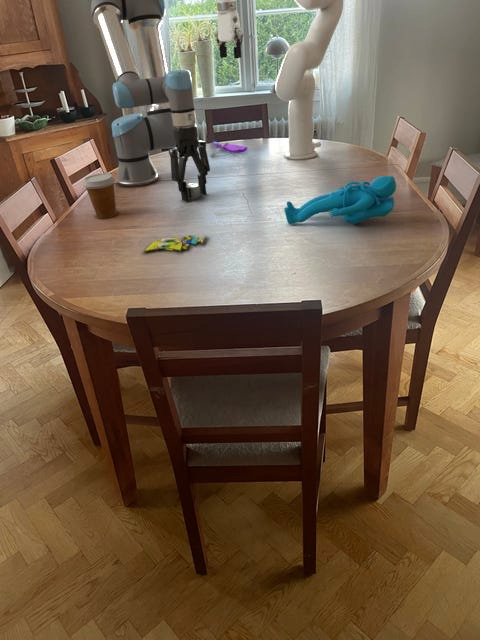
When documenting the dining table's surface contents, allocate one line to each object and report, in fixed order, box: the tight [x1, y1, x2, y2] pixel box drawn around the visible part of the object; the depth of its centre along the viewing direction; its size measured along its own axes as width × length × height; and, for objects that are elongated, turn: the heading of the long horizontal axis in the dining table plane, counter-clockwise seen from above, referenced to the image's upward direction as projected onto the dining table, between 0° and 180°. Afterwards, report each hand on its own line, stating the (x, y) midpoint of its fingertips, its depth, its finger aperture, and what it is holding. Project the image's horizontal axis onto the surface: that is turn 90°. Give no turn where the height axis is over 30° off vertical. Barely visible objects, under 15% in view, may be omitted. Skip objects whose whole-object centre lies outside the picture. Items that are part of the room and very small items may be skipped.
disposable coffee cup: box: [83, 172, 117, 219], centre depth 152 cm, size 10×10×12 cm
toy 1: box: [144, 234, 207, 254], centre depth 130 cm, size 10×1×15 cm
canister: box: [186, 182, 202, 201], centre depth 161 cm, size 5×5×4 cm
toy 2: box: [283, 175, 397, 225], centre depth 132 cm, size 17×11×30 cm
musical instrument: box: [210, 141, 248, 157], centre depth 213 cm, size 24×2×20 cm
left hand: (194, 197), depth 162 cm, fingers open, 7 cm apart
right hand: (230, 57), depth 196 cm, fingers open, 9 cm apart
